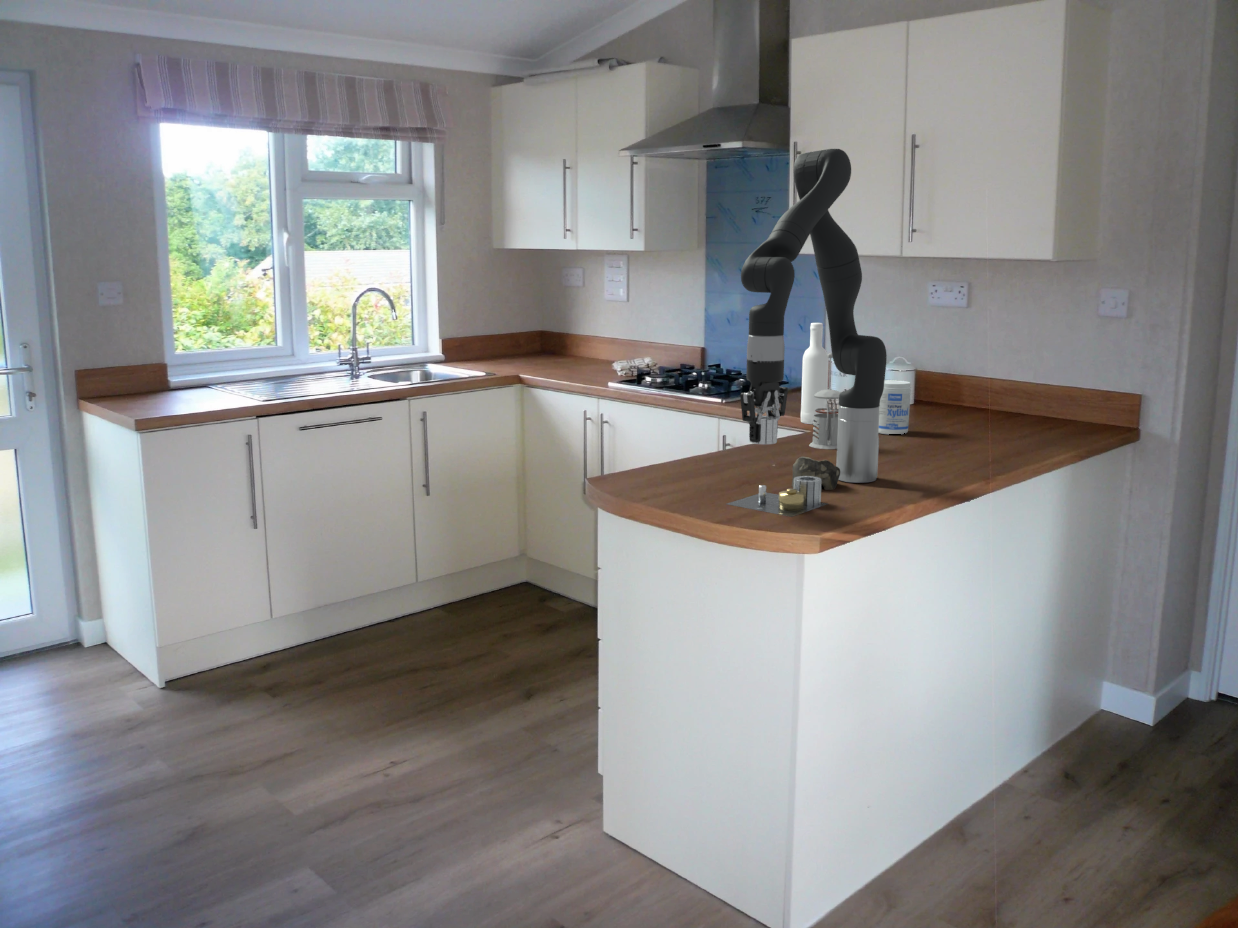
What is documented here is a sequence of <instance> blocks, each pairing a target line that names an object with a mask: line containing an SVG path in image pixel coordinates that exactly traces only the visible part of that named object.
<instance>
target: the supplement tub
mask: <svg viewBox="0 0 1238 928" xmlns="http://www.w3.org/2000/svg"><path fill="white" fill-rule="evenodd" d="M911 385H912V384H911V382H910V381H906V380H898V379H897V380H895V379H894V380H893V379H885V381H884V390H883V394H882V396H881V399H880V408H879V432H878V434H880V435H881V434H882V435H889V434H901V435H905V434H907V433H908V431H909V421H910V410H911V409H910V407H911V391H912V390H911V388H912V387H911ZM904 433H905V434H904Z"/></svg>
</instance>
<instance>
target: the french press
mask: <svg viewBox="0 0 1238 928" xmlns="http://www.w3.org/2000/svg"><path fill="white" fill-rule="evenodd" d="M827 354H828V355H827V358H829V375H828V385H829V386H828V389H827V390H822V391H819V392H817V393H816V394H814V397H815V398H820V399H827V400H828V402H827V408H818V409H816V410H815V411H816V412H818V413H823V414H816V415H814V418H813V420H814V423H813V424H812V426H813V427H812V430H813V432H812V435H813V436H812V442H810V444H809V445H808V446H809V447H811V448H814V449H821V450H837V435H838V408H835V402H832V406H830V404H829V402H830V400H837V399H838V400H839V395H840V393H841V392H842V391H839V390H836V389H832V388H831V374H832V373H831V371H832V370H831V369H832V359H833V357H832V352H829V353H827ZM815 422H818V423H819V424H816V423H815Z"/></svg>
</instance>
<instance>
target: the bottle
mask: <svg viewBox="0 0 1238 928" xmlns="http://www.w3.org/2000/svg"><path fill="white" fill-rule="evenodd" d="M809 330H810V335H809V336H810V337H809V347H808V348H806V349H805V350H804V353H803V355H802V365H801V366H802V367H801V369H802V370H801V401H800V403H801V404H800V422H801V423H802V424H806V425H813V423H814V420H813V418H814V415H816V414H823V413H818V412H816V411H815V410H816V409H818V408H827V403H828V399H820V398H815V397H814V394H816V393H817V392H819V391H822V390H827V389H829V386H828V385H829V365H830V358H827V355H828V354H829V353H828V351H827V350H826V349H825V348H824V347H823V333H824V332H823V330H824V324H823V323H822V322H811V323H810V326H809ZM815 423H816V424H819V423H818V422H815Z"/></svg>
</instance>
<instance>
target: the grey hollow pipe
mask: <svg viewBox="0 0 1238 928" xmlns="http://www.w3.org/2000/svg"><path fill="white" fill-rule="evenodd" d="M792 489H796V490H797V491H799V492H803V493H804V505H805V506H806V505H807V506H813V505H818V504H820V503H821V502H822V501H821V500H822V485H821V478H818V477H814V476H799V477H795V478H794V488H793V487H792Z"/></svg>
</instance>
